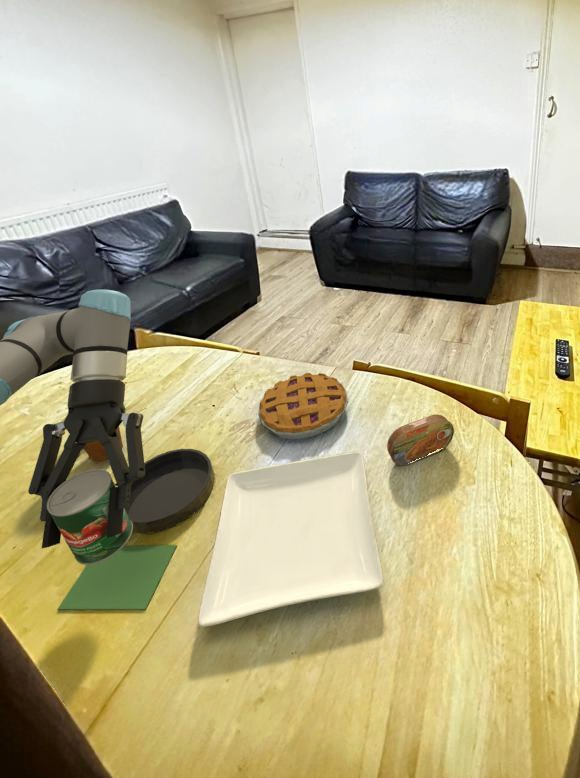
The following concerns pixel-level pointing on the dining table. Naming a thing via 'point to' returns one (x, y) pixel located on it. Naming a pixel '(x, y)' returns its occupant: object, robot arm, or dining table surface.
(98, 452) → the disposable coffee cup
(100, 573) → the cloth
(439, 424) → the tin
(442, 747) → the dining table surface
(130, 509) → the pan
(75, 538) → the canned tomato
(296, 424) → the pie
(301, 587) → the square plate
